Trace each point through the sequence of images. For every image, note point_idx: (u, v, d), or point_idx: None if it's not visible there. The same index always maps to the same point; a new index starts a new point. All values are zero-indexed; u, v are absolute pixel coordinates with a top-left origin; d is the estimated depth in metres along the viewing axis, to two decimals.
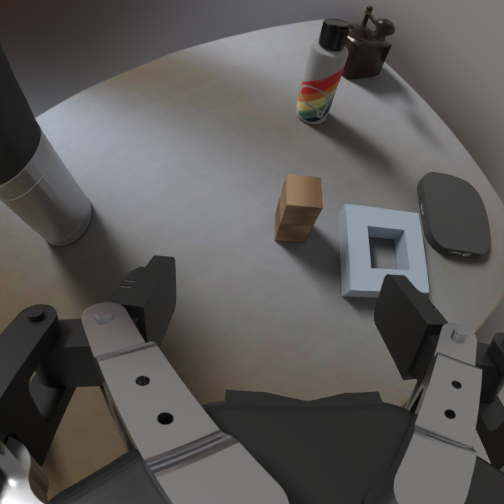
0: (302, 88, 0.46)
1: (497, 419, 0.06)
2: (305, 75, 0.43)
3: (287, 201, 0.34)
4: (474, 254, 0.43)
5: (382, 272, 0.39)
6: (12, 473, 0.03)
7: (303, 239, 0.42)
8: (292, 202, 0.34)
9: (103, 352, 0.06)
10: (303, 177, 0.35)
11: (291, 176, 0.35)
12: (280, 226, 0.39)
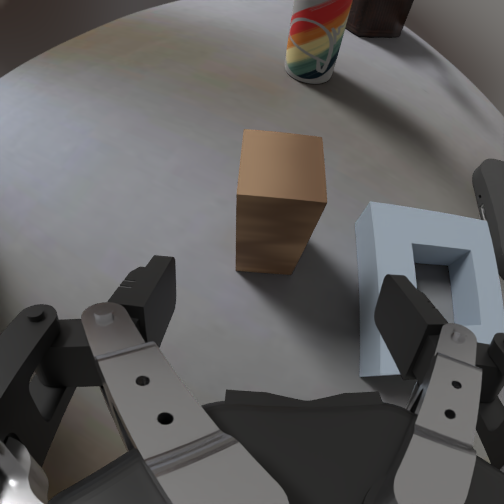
0: (292, 26, 0.27)
1: (497, 419, 0.06)
2: (295, 4, 0.24)
3: (239, 187, 0.14)
4: None
5: None
6: (12, 473, 0.03)
7: (290, 269, 0.22)
8: (252, 190, 0.14)
9: (103, 352, 0.06)
10: (282, 135, 0.15)
11: (254, 133, 0.15)
12: (238, 245, 0.19)
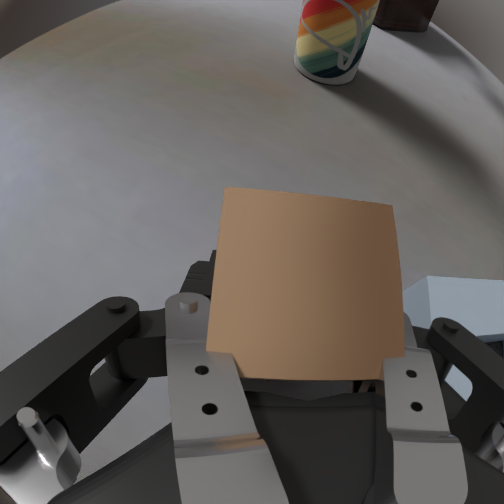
0: (305, 6, 0.18)
1: (451, 404, 0.07)
2: None
3: None
4: None
5: None
6: (43, 452, 0.04)
7: None
8: (241, 362, 0.06)
9: None
10: (311, 204, 0.07)
11: (249, 199, 0.07)
12: None
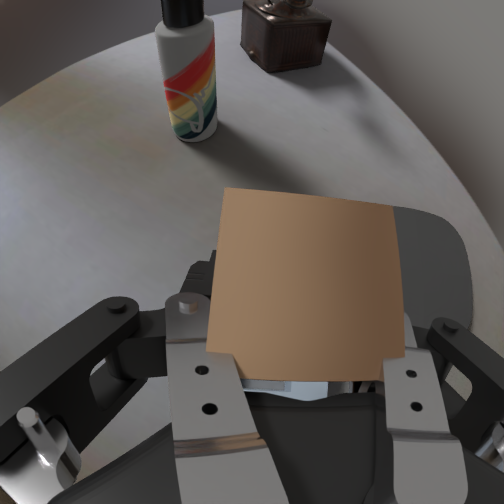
0: None
1: (451, 404, 0.07)
2: None
3: None
4: None
5: None
6: (43, 452, 0.04)
7: None
8: (241, 364, 0.06)
9: None
10: (311, 204, 0.07)
11: (249, 199, 0.07)
12: None
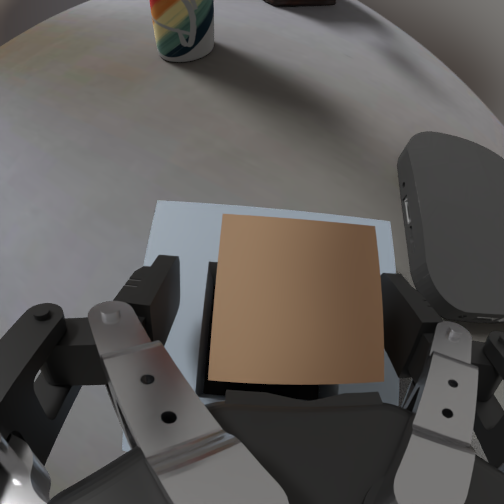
0: None
1: (494, 417, 0.06)
2: None
3: (214, 362, 0.07)
4: None
5: None
6: (14, 471, 0.03)
7: None
8: (240, 370, 0.07)
9: (110, 350, 0.06)
10: (300, 227, 0.08)
11: (244, 224, 0.08)
12: None
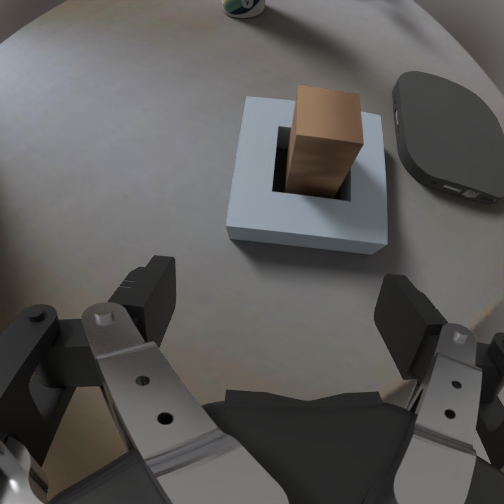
0: None
1: (497, 419, 0.06)
2: None
3: (298, 129, 0.17)
4: (484, 196, 0.25)
5: (293, 200, 0.23)
6: (12, 473, 0.03)
7: None
8: (308, 132, 0.17)
9: (103, 352, 0.06)
10: (328, 91, 0.18)
11: (306, 89, 0.18)
12: (289, 177, 0.23)
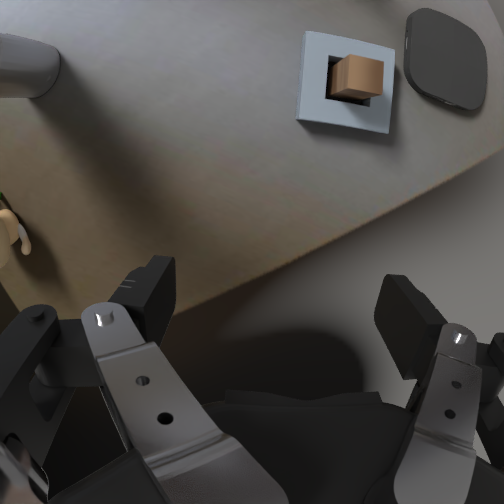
0: None
1: (497, 419, 0.06)
2: None
3: (348, 84, 0.29)
4: (459, 106, 0.36)
5: (337, 104, 0.36)
6: (12, 473, 0.03)
7: (356, 99, 0.37)
8: (353, 86, 0.29)
9: (103, 352, 0.06)
10: (366, 59, 0.28)
11: (354, 57, 0.28)
12: (336, 93, 0.34)
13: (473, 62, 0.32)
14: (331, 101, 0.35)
